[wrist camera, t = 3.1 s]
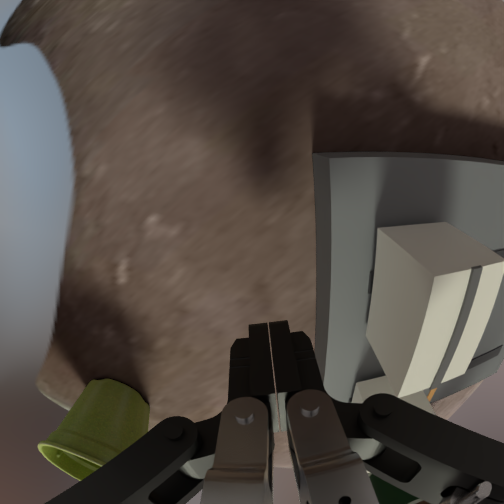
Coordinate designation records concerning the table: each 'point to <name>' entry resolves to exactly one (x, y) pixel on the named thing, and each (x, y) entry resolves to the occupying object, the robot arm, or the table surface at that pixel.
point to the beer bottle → (392, 493)
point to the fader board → (365, 240)
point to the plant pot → (97, 428)
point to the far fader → (383, 386)
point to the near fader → (429, 303)
